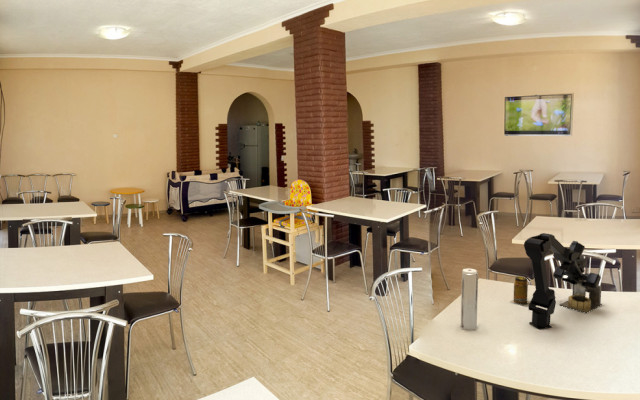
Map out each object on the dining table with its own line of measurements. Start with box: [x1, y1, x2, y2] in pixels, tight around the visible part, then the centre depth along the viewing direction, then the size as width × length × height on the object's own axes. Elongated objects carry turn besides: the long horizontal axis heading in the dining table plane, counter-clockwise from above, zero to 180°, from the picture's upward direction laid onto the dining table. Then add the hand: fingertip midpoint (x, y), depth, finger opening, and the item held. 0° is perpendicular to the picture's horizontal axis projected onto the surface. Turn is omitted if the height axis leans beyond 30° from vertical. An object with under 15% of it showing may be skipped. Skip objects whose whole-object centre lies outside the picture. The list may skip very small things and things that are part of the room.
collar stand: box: [559, 284, 603, 314], centre depth 217 cm, size 15×12×10 cm
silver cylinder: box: [460, 267, 479, 331], centre depth 196 cm, size 6×6×25 cm
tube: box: [574, 279, 587, 301], centre depth 215 cm, size 5×5×12 cm
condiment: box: [509, 276, 531, 307], centre depth 222 cm, size 7×8×12 cm
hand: (581, 286), depth 216 cm, fingers closed on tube, 5 cm apart
